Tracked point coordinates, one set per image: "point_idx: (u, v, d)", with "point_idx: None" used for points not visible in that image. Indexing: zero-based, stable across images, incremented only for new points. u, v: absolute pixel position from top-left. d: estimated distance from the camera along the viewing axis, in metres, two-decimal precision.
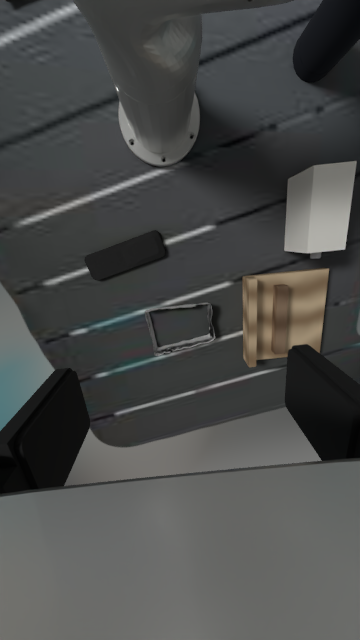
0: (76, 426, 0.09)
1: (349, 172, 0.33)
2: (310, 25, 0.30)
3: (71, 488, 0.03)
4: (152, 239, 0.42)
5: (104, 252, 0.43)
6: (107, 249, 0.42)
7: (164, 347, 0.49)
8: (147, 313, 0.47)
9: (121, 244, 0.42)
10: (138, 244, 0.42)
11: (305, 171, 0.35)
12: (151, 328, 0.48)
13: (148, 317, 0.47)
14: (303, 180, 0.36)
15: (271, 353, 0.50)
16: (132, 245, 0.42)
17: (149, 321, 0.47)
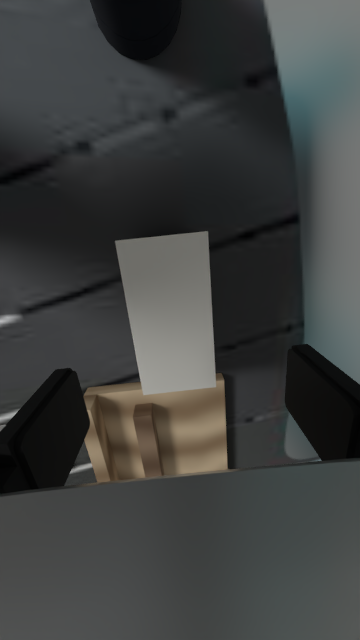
0: (76, 426, 0.09)
1: (197, 253, 0.15)
2: None
3: (71, 488, 0.03)
4: None
5: None
6: None
7: None
8: None
9: None
10: None
11: None
12: None
13: None
14: None
15: None
16: None
17: None
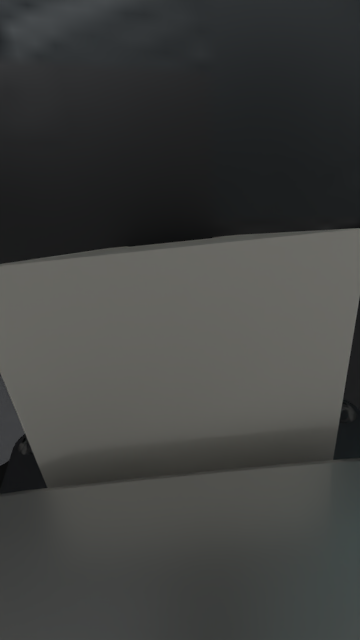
0: None
1: (308, 319, 0.04)
2: None
3: (71, 488, 0.03)
4: None
5: None
6: None
7: None
8: None
9: None
10: None
11: None
12: None
13: None
14: None
15: None
16: None
17: None
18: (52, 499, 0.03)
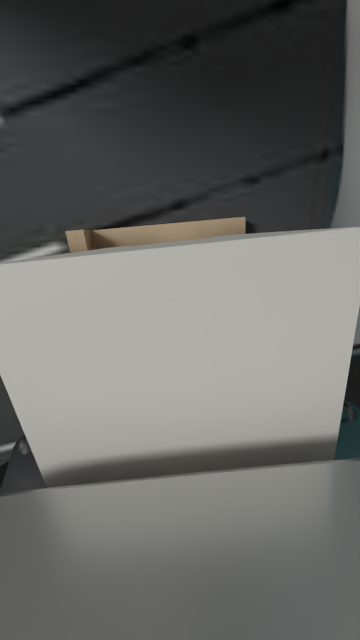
0: None
1: (309, 318, 0.04)
2: None
3: (71, 488, 0.03)
4: None
5: None
6: None
7: None
8: None
9: None
10: None
11: None
12: None
13: None
14: None
15: None
16: None
17: None
18: (52, 499, 0.03)
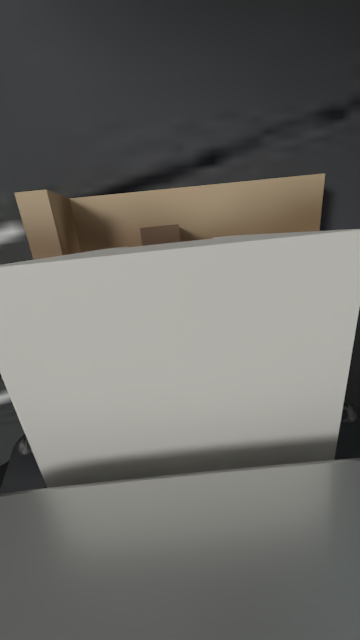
0: None
1: (309, 320, 0.04)
2: None
3: (71, 488, 0.03)
4: None
5: None
6: None
7: None
8: None
9: None
10: None
11: None
12: None
13: None
14: None
15: None
16: None
17: None
18: (52, 499, 0.03)
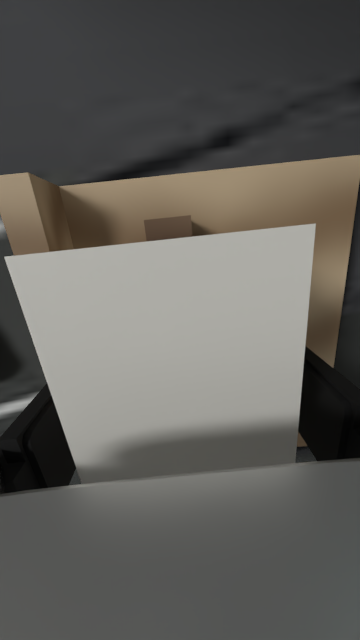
0: None
1: (272, 295, 0.05)
2: None
3: (71, 488, 0.03)
4: None
5: None
6: None
7: None
8: None
9: None
10: None
11: None
12: None
13: None
14: None
15: None
16: None
17: None
18: (52, 499, 0.03)
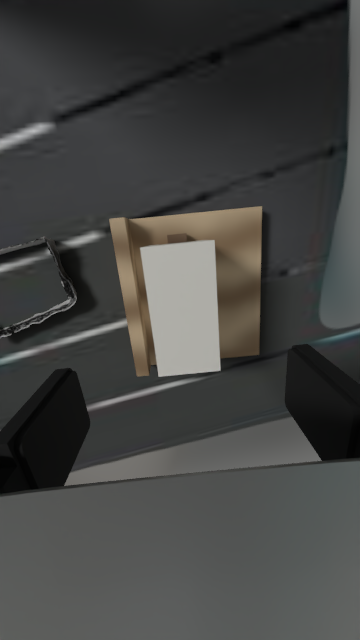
0: (76, 426, 0.09)
1: (205, 257, 0.19)
2: None
3: (71, 488, 0.03)
4: None
5: None
6: None
7: None
8: None
9: None
10: None
11: None
12: None
13: None
14: None
15: None
16: None
17: None
18: (52, 499, 0.03)
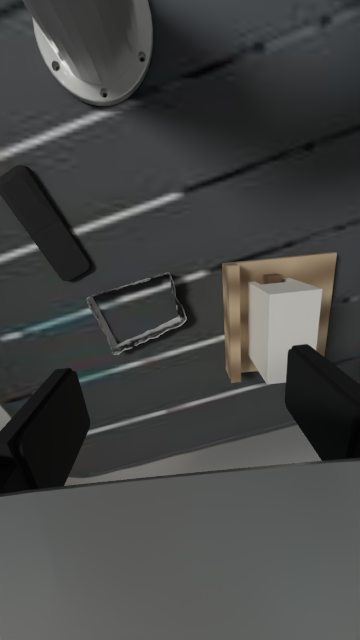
0: (76, 426, 0.09)
1: (314, 301, 0.27)
2: None
3: (71, 488, 0.03)
4: (5, 187, 0.29)
5: (49, 256, 0.33)
6: (44, 252, 0.32)
7: (125, 342, 0.38)
8: (91, 301, 0.35)
9: (31, 234, 0.32)
10: (20, 208, 0.30)
11: (262, 292, 0.29)
12: (102, 320, 0.36)
13: (94, 306, 0.35)
14: (261, 299, 0.29)
15: None
16: (25, 217, 0.31)
17: (96, 311, 0.36)
18: (52, 499, 0.03)
